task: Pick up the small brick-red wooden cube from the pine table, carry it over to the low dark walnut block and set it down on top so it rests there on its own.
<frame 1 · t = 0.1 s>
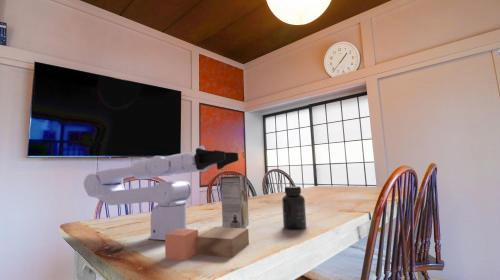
hand: (231, 156, 65), 22 cm above the table, tool horizontal, fingers open, 7 cm apart
coffee box: (236, 227, 78), on the table
red cube: (182, 255, 54), on the table
walnut block: (223, 250, 57), on the table
supplement bottle: (295, 228, 74), on the table
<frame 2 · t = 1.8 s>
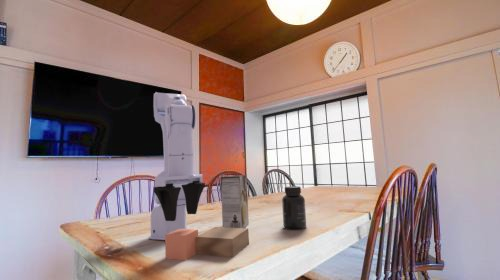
hand: (181, 217, 55), 8 cm above the table, tool pointing down, fingers open, 7 cm apart
nothing on the table moved.
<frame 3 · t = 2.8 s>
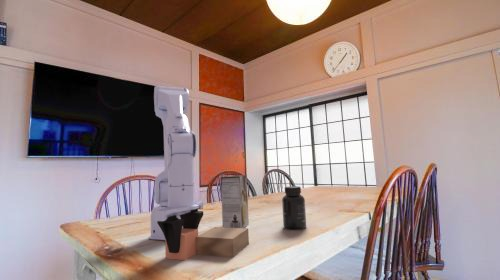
hand: (182, 248, 55), 1 cm above the table, tool pointing down, fingers closed on red cube, 5 cm apart
red cube: (182, 255, 54), on the table, touching gripper
everything else where it was.
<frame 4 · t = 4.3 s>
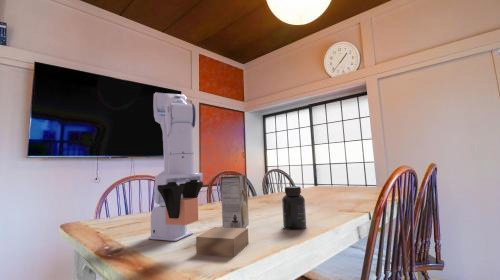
hand: (182, 215, 55), 8 cm above the table, tool pointing down, fingers closed on red cube, 5 cm apart
red cube: (182, 222, 55), point 7 cm above the table, touching gripper
everything else where it was.
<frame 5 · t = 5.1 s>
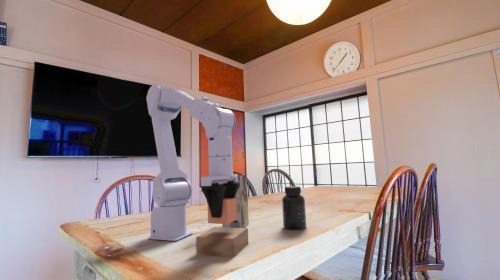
hand: (222, 215, 58), 8 cm above the table, tool pointing down, fingers closed on red cube, 5 cm apart
red cube: (222, 221, 58), point 6 cm above the table, touching gripper
everything else where it was.
when the fingers open (7 cm above the table, at t = 5.7 s): red cube drops 2 cm, resting on walnut block.
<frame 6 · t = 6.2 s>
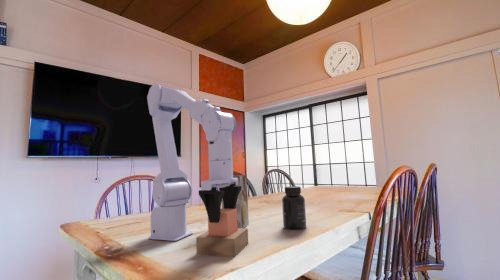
hand: (222, 218, 58), 7 cm above the table, tool pointing down, fingers open, 7 cm apart
red cube: (223, 232, 58), point 4 cm above the table, touching walnut block
walnut block: (223, 250, 57), on the table, touching red cube
everything else where it was.
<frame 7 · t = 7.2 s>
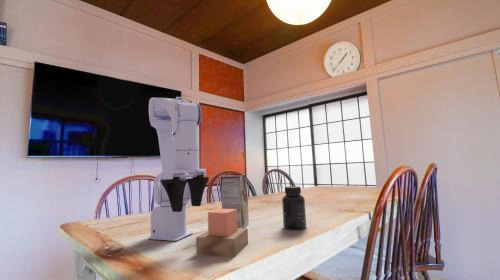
hand: (187, 208, 59), 9 cm above the table, tool pointing down, fingers open, 7 cm apart
nothing on the table moved.
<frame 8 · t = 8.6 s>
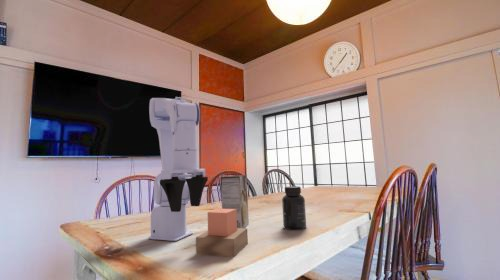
hand: (186, 208, 59), 9 cm above the table, tool pointing down, fingers open, 7 cm apart
nothing on the table moved.
at the end: red cube 0.1 cm off-centre on the walnut block, point 4.0 cm above the walnut block's base; red cube touching nothing; the gripper is holding nothing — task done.
